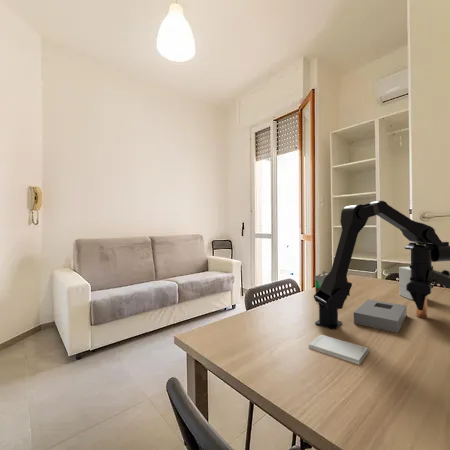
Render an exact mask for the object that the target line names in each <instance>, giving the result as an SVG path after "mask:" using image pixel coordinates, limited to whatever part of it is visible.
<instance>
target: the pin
mask: <svg viewBox="0 0 450 450" xmlns="http://www.w3.org/2000/svg"><path fill="white" fill-rule="evenodd" d="M415 317H417V318H420V319H427V318H428V299H427V296H426V298H425V302H424V307H423V310H418V308H417V306H416V305H415Z"/></svg>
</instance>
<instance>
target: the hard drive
mask: <svg viewBox="0 0 450 450" xmlns="http://www.w3.org/2000/svg"><path fill="white" fill-rule="evenodd" d="M308 348H309V349H311V350H314V351H317V352H320V353H323V354H326V355H329V356H332V357H336V358H338V359H340V360H344V361H346V362H350V363H353V364H357V365H359V366H360V365H361V363H362V362H363V361H364V359H365V358H366V356H367V355H368V354H369V352H370V349H369V347H365V346H361V345H360V344H356V343H353V342H352V343H351V342H349V341H346V340H345V341H344V340H341V339H339V338H335V337H331V336H328V335H323V334H319V336H317V337H316V338H315V339H313V340H312V341H311V342H310V343H309V344H308Z"/></svg>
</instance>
